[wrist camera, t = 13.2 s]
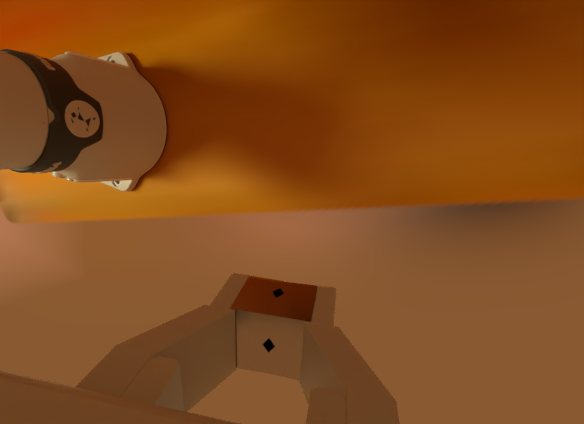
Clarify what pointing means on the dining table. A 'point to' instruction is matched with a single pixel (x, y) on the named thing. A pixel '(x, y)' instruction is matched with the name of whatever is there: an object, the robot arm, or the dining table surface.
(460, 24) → the dining table surface
